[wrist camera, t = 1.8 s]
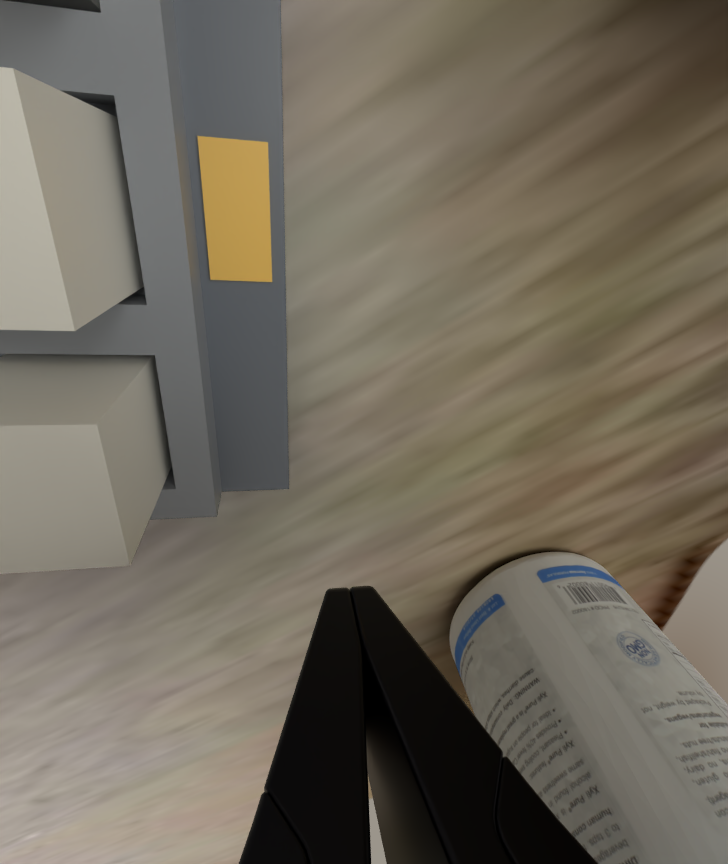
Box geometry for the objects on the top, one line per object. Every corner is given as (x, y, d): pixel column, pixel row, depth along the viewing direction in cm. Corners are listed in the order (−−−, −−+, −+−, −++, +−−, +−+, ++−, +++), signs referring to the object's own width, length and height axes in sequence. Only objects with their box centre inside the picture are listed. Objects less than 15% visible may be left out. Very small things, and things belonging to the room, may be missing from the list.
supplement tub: (485, 685, 28) (660, 1106, 15) (413, 605, 23) (572, 1107, 10) (628, 610, 26) (952, 1000, 14) (579, 510, 22) (993, 949, 9)
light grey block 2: (155, 352, 14) (97, 424, 9) (172, 462, 16) (129, 566, 11) (11, 350, 13) (-124, 426, 9) (46, 466, 15) (-51, 577, 11)
